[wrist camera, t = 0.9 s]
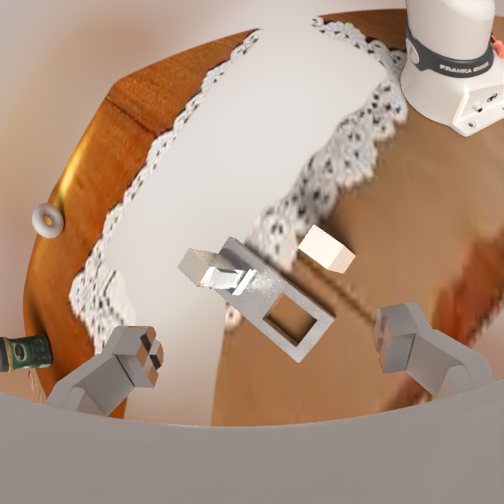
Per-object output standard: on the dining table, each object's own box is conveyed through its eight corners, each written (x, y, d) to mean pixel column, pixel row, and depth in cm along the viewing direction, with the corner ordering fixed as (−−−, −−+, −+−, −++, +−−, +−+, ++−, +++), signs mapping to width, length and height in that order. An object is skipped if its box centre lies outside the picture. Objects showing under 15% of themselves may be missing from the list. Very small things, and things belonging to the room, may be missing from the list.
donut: (58, 211, 75) (29, 204, 66) (64, 204, 74) (34, 197, 65) (61, 242, 72) (30, 238, 63) (67, 237, 71) (36, 231, 62)
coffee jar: (38, 336, 75) (-14, 339, 58) (48, 332, 72) (-8, 334, 56) (45, 368, 73) (-7, 374, 56) (55, 365, 70) (0, 372, 53)
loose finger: (355, 255, 42) (344, 245, 31) (343, 273, 43) (327, 269, 32) (329, 237, 44) (309, 221, 33) (317, 254, 45) (293, 244, 34)
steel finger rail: (336, 317, 42) (318, 329, 32) (302, 360, 44) (274, 382, 33) (235, 238, 50) (192, 225, 39) (209, 278, 52) (161, 275, 41)
